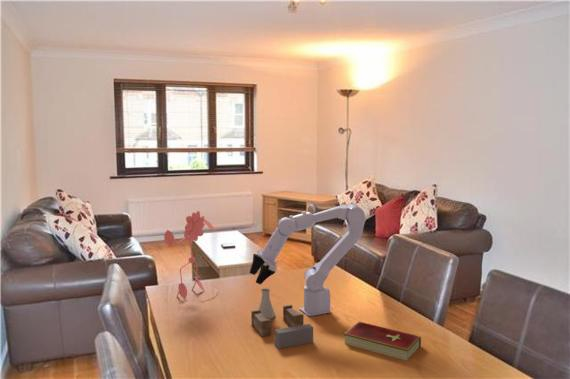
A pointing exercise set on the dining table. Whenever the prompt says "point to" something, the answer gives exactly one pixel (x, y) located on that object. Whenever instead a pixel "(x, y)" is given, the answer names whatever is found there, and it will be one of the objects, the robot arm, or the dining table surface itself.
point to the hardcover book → (382, 340)
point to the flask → (266, 305)
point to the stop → (293, 336)
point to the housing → (265, 324)
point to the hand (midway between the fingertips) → (255, 278)
